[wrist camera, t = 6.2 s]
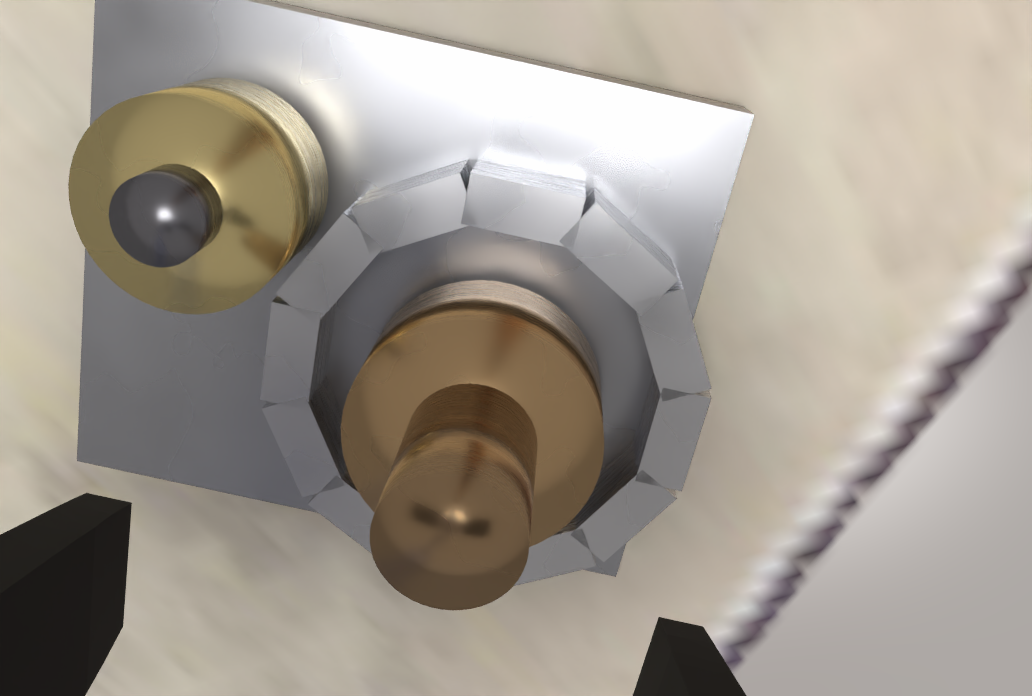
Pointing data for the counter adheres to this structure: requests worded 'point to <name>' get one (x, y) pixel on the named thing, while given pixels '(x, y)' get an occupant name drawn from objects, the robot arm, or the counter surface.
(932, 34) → the counter surface
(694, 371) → the carrier
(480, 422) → the gear
